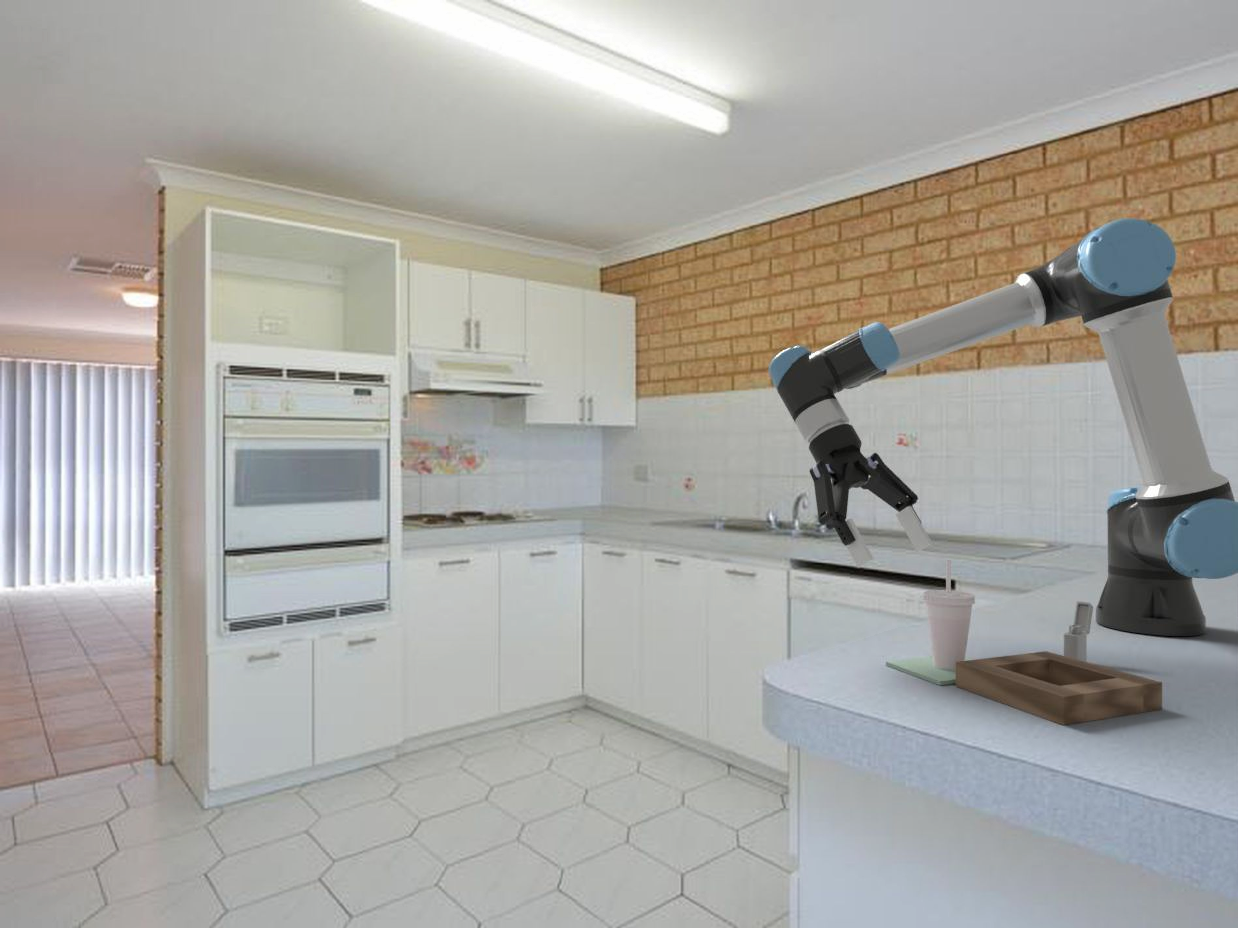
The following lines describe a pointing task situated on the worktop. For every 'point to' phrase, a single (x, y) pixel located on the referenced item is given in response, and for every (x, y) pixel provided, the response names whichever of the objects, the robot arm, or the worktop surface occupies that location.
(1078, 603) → the lighter
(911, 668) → the mat
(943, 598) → the smoothie
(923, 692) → the worktop surface
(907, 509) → the robot arm
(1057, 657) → the caddy
